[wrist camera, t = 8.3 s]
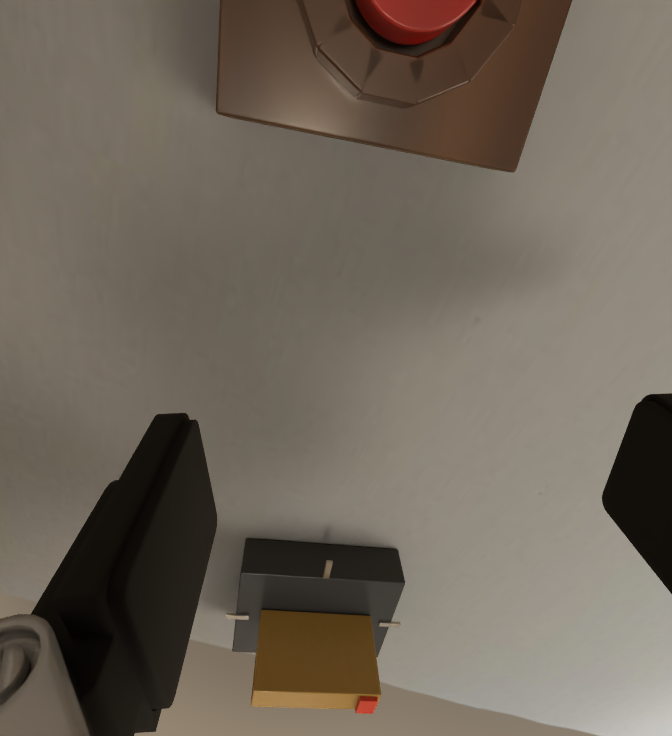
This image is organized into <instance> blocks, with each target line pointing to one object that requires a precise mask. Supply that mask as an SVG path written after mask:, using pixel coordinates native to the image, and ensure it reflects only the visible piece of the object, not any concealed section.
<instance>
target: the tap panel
mask: <svg viewBox="0 0 672 736" xmlns="http://www.w3.org/2000/svg"><path fill="white" fill-rule="evenodd" d="M404 585H405V580H404V576H403V571H402V566H401V562H400V557H399V553H398V550H396V549H382V548H368V547H355V546H341V545H328V544H314V543H301V542H287V541H274V540H260V539H246V542H245V549H244V555H243V561H242V568H241V575H240V584H239V593H238V603H237V612H236V613H226V619H236V621H235V631H234V640H233V649H232V651H233V652H255V653H256V649H257V639H258V630H259V622H260V616H261V610H278V611H296V612H313V613H330V614H348V615H365V616H371V621H372V628H373V636H374V643H375V651H376V657H378V654H379V652H380V649H381V646H382V644H383V641H384V638H385V636H386V633H387V630H388V628H389V627H400V622H391V620H392V617H393V614H394V612H395V609H396V606H397V604H398V601H399V598H400V596H401V593H402V590H403V588H404Z"/></svg>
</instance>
